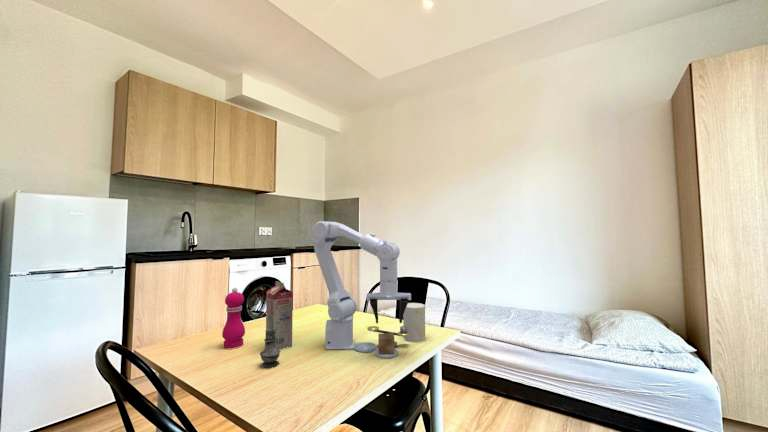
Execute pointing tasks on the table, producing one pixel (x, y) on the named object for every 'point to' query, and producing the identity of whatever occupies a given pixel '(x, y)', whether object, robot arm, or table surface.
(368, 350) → the dish left
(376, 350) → the dish right
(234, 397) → the table surface
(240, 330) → the pepper mill
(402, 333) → the balance
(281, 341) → the juice carton
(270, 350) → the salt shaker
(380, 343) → the block
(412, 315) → the cup
